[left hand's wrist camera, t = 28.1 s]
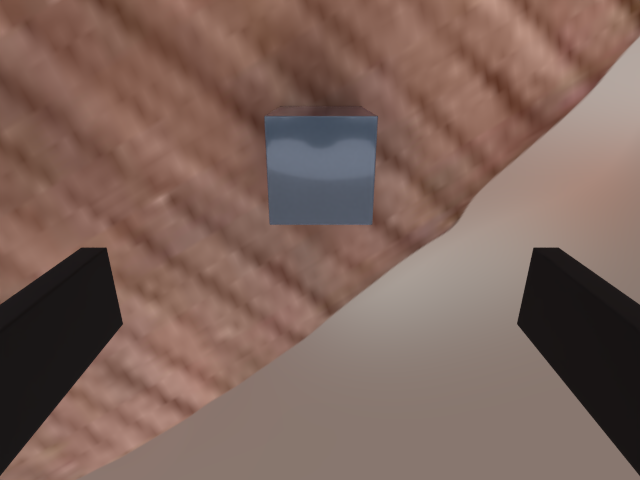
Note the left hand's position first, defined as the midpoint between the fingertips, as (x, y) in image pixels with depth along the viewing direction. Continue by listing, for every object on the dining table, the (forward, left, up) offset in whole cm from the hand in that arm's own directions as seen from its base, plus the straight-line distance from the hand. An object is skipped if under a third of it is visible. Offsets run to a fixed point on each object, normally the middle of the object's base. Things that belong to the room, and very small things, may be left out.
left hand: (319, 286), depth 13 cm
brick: (0, 0, -28) cm, 28 cm away
